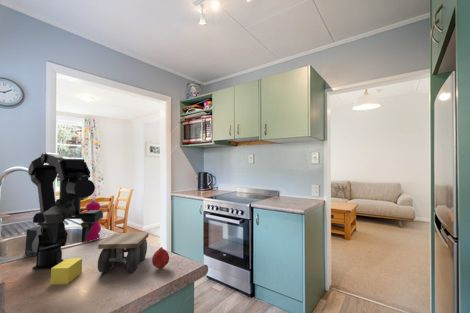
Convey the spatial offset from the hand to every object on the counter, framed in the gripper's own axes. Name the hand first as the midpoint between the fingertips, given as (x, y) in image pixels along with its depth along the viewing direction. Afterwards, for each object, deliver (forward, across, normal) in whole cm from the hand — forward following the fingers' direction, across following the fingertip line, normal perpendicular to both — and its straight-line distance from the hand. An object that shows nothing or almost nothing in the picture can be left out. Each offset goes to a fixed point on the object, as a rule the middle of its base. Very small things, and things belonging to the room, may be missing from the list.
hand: (68, 242), depth 72 cm
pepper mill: (+12, -13, +38) cm, 42 cm away
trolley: (+12, +15, +8) cm, 20 cm away
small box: (+12, -25, +24) cm, 37 cm away
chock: (+12, 0, 0) cm, 12 cm away
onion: (+12, +29, +4) cm, 31 cm away
